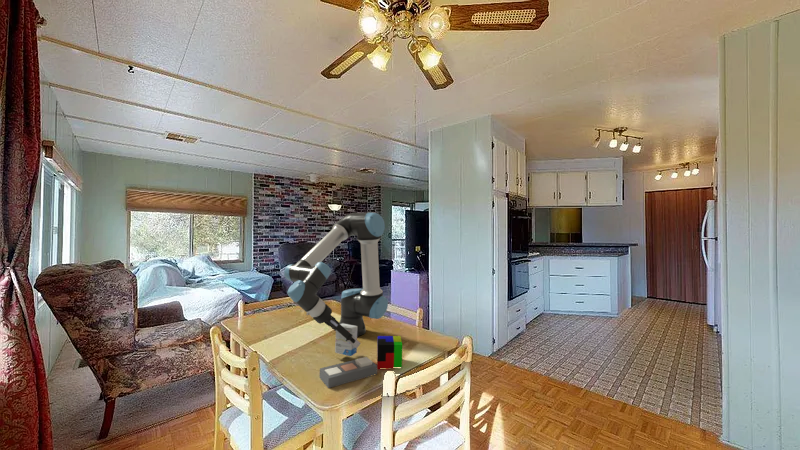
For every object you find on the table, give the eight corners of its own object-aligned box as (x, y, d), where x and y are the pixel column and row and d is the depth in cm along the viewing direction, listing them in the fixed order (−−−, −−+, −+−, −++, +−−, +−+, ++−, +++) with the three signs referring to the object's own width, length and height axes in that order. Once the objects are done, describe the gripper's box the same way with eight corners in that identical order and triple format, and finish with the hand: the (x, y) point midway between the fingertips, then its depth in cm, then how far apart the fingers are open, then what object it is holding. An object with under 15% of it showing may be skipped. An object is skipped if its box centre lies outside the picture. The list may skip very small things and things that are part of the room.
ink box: (357, 352, 137) (358, 325, 137) (351, 356, 133) (351, 328, 133) (341, 348, 141) (342, 322, 141) (334, 352, 136) (335, 325, 136)
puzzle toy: (377, 358, 137) (377, 336, 137) (399, 358, 138) (400, 336, 138) (377, 369, 127) (377, 344, 127) (401, 369, 128) (402, 344, 128)
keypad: (366, 365, 131) (366, 357, 131) (377, 374, 123) (377, 365, 123) (319, 377, 120) (319, 368, 120) (328, 388, 112) (328, 378, 112)
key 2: (366, 362, 128) (366, 356, 128) (372, 367, 124) (372, 361, 124) (355, 365, 126) (355, 359, 126) (360, 370, 122) (361, 364, 122)
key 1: (336, 373, 121) (336, 366, 121) (342, 378, 117) (342, 371, 117) (324, 376, 118) (324, 369, 118) (329, 382, 114) (329, 375, 114)
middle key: (351, 369, 125) (352, 362, 125) (357, 374, 121) (357, 367, 121) (340, 372, 122) (340, 365, 122) (345, 377, 118) (345, 371, 118)
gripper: (304, 311, 138) (337, 341, 146) (322, 325, 119) (358, 358, 128) (316, 298, 141) (348, 327, 149) (335, 309, 122) (370, 342, 131)
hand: (353, 341), depth 139 cm, fingers closed on ink box, 10 cm apart
